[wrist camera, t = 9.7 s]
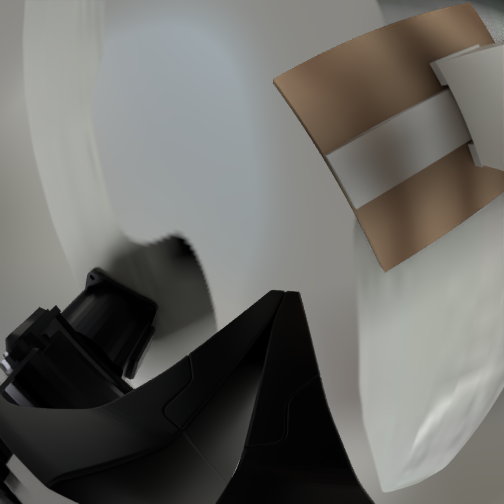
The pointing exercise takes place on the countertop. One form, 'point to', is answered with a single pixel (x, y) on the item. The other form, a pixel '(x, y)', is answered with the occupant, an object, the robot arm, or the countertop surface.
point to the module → (478, 97)
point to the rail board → (396, 129)
